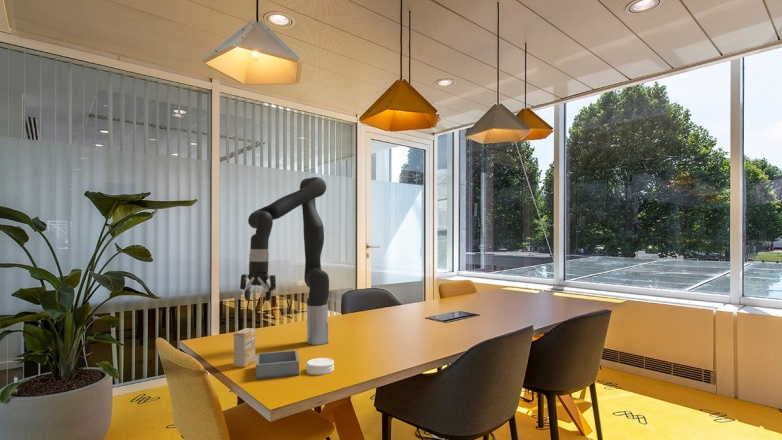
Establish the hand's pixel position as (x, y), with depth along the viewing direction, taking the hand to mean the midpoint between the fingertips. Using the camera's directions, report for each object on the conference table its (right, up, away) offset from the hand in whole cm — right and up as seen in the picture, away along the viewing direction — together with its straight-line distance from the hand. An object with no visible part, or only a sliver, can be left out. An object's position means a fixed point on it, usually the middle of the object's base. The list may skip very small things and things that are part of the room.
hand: (257, 300), depth 176 cm
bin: (+13, -23, -17) cm, 31 cm away
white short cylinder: (+28, -23, -17) cm, 40 cm away
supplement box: (-2, -23, -9) cm, 25 cm away
